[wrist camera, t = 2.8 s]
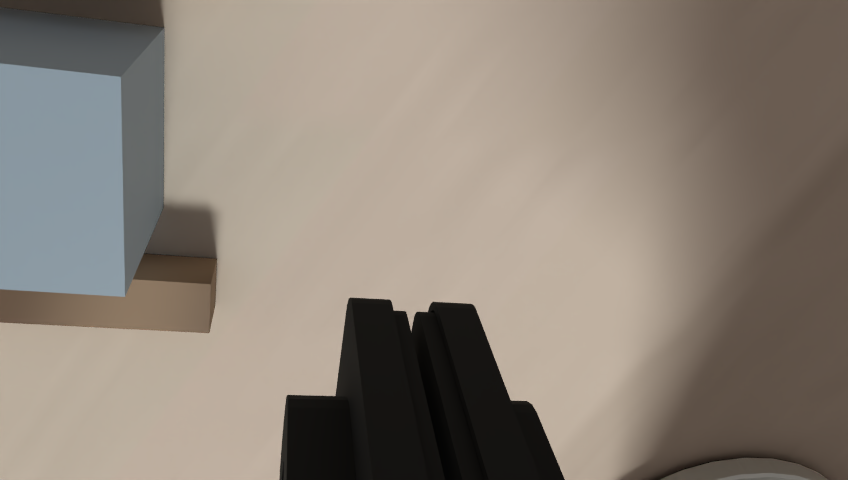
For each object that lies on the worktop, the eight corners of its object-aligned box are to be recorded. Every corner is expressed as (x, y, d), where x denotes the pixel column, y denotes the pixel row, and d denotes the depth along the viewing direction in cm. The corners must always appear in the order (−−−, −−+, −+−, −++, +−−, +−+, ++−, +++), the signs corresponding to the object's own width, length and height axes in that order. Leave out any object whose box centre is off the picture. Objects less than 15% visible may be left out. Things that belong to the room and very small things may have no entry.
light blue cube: (165, 27, 19) (120, 77, 15) (163, 206, 21) (125, 296, 17) (-51, 0, 18) (-167, 44, 14) (-30, 190, 20) (-124, 281, 16)
